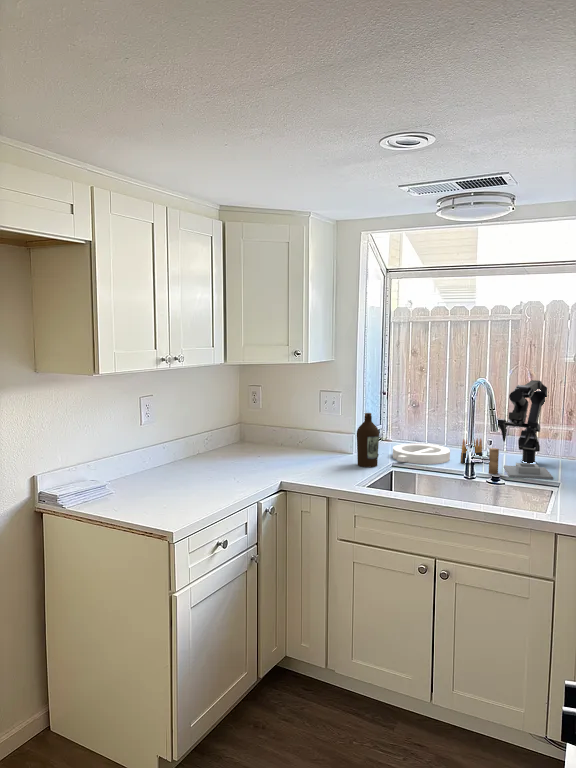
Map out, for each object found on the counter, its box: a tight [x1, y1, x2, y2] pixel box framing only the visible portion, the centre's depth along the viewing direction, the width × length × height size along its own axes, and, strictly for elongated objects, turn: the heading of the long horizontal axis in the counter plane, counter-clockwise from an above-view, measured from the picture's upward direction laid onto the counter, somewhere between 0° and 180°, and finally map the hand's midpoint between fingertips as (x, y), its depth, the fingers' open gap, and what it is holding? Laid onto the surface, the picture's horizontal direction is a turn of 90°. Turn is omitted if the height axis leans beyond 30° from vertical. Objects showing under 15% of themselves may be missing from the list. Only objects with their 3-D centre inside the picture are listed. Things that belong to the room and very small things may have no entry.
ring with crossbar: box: [392, 443, 451, 465], centre depth 300 cm, size 28×28×5 cm
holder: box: [503, 462, 554, 480], centre depth 268 cm, size 18×18×4 cm
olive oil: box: [356, 412, 380, 468], centre depth 282 cm, size 11×11×25 cm
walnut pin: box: [488, 447, 500, 475], centre depth 268 cm, size 4×4×11 cm
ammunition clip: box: [460, 437, 483, 464], centre depth 288 cm, size 11×2×12 cm, turn 101°
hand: (514, 442), depth 268 cm, fingers open, 9 cm apart
